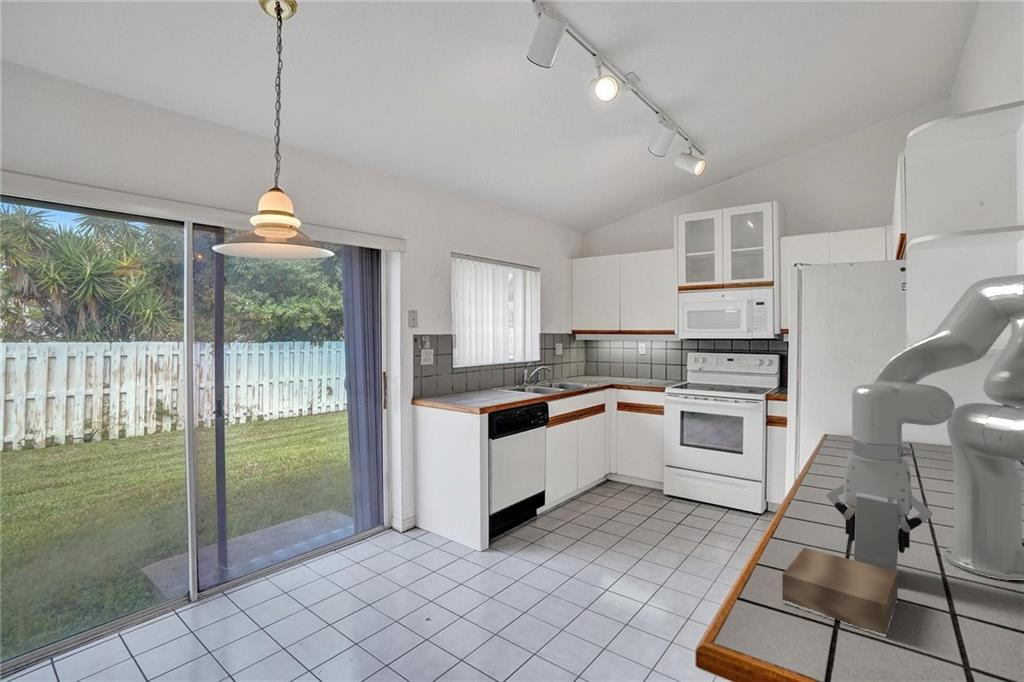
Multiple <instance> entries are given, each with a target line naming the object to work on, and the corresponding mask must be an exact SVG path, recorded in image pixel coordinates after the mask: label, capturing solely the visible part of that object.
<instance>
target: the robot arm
mask: <svg viewBox="0 0 1024 682" xmlns="http://www.w3.org/2000/svg"><path fill="white" fill-rule="evenodd" d="M1009 324H1010V327H1011V335H1010V337H1009V339H1008V341H1007V343H1006V345H1005V347H1004V348H1003V349H1002V351H1001V352H1000V354H999V356H998V357H997V359H996V360H995V362H994V364H993V366H992V367H991V369H990V370H989V372H988V374H987V375H986V377H985V380H984V382H983V388H982V389H983V391H984V394H985V395H986V397H987V398H988V399H990V400H991V401H993V402H996V403H998V404H996V403H995V404H994V403H987V402H986V403H985V402H971V403H964V404H961V405H958V406H957V407H956V406H955V405H956V404H955V402H954V398H953V397H952V396H951V395H950V394H949V393H948V392H947V391H945V389H942V388H940V387H937V386H934V385H929V384H923V383H918V382H921V380H923V379H924V378H926V377H929V376H931V375H933V374H936V373H939V372H942V371H946V370H949V369H954V368H959V367H962V366H964V365H968V364H971V363H975V362H978V361H979V360H981V359H983V358H984V357H985V356H986V355H987V353H988V352H989V350H990V349H991V348H992V347H993V346H994V345H995V343H996V341H997V340H999V337H1000V336H1001V335H1002V334H1003V332H1004V331H1005V329H1006V328H1007V327H1008V326H1009ZM851 394H852V395H851V401H852V402H851V403H852V405H851V407H852V408H851V409H852V410H851V411H852V413H851V415H852V418H851V419H852V420H851V421H852V423H851V424H852V426H851V428H852V429H851V430H852V433H851V434H852V439H851V440H852V442H851V443H852V450H851V451H852V452H850V453H848V456H847V458H846V459H847V460H846V462H845V463H846V464H845V472H844V483H843V484H842V485H840V486H838V487H836V488H834V489H832V490H830V491H829V492H828V493H826V497H827V499H828V500H829V501H830V503H832V505H834V508H835V509H836V510H837V511H838V512H839V513H840V514H841V515H842V516H843V518H844V519H845V534H846V535H848V540H849V541H850V542H855V517H856V514H855V513H856V493H864V494H869V495H874V496H878V497H883V498H888V499H893V500H897V501H898V508H899V534H898V552H899V553H902V554H904V553H905V550H906V549H910V545H911V544H910V541H911V539H910V538H911V537H910V536H911V533H910V532H911V531H912V530H914V529H915V528H917V527H919V526H921V525H922V524H923V523H925V522H926V521H928V520H929V519H930V518H932V516H933V511H932V510H931V509H929V507H927V506H926V505H925V504H923V503H922V502H921V501H919V499H917V498H915V496H914V495H913V491H912V480H911V472H910V467H909V463H908V460H906V459H904V457H907V456H909V457H912V456H913V449H912V448H909V447H907V446H905V445H903V427H902V426H903V424H909V425H918V426H928V427H929V426H937V425H940V424H944V423H945V422H946V421H947V423H946V427H947V428H946V429H947V430H946V431H947V434H948V439H949V442H950V443H949V444H950V446H951V451H952V457H953V459H952V460H953V546H950V547H947V548H945V549H944V550H943V557H944V560H946V561H947V562H948V561H949V563H950V564H951V563H952V565H953V564H954V566H955V565H956V566H955V567H957V566H958V567H957V568H959V567H960V569H961V568H963V569H966V570H970V571H973V572H977V573H980V574H984V575H988V576H995V577H999V578H1004V579H1024V545H1023V479H1022V475H1021V472H1020V471H1019V468H1018V466H1017V465H1016V463H1015V462H1014V461H1019V462H1024V273H1021V274H1014V275H1004V276H996V277H989V278H984V279H980V280H978V281H976V282H974V283H973V284H971V285H970V286H969V287H968V288H967V289H966V290H965V292H964V293H962V295H961V296H960V298H959V299H958V301H957V302H956V303H955V304H954V306H953V307H952V309H951V310H950V311H949V312H948V314H947V315H946V316H945V318H943V320H942V321H941V322H940V324H939V325H938V326H937V328H936V329H935V330H934V331H933V332H932V334H930V335H929V336H927V337H925V338H923V339H921V340H920V341H917V342H916V343H914V344H912V345H911V346H910V347H908V348H906V349H904V350H903V351H901V352H899V353H898V354H896V355H895V356H893V357H892V358H890V359H889V360H888V361H887V362H886V363H885V364H884V365H883V366H882V368H881V369H880V370H879V371H878V372H877V374H876V375H875V376H874V378H873V379H872V380H871V382H870V384H861V385H856V386H855V387H854V388H853V390H852V393H851ZM842 495H843V501H844V502H842V501H841V500H840V498H839V496H842ZM844 503H845V504H844ZM847 506H848V507H847ZM912 508H914V509H915V510H916V511H917V512H918V514H917V515H915V516H913V517H912V518H909V514H910V511H911V510H912ZM963 569H962V570H963ZM966 570H965V571H966Z"/></svg>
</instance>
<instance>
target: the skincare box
mask: <svg viewBox="0 0 1024 682" xmlns="http://www.w3.org/2000/svg"><path fill="white" fill-rule="evenodd" d="M899 529H900V524H899V508H898V501H897V500H893V499H888V498H883V497H878V496H874V495H869V494H864V493H856V511H855V540H854V547H853V560H854V561H858V562H862V563H866V564H869V565H873V566H877V567H881V568H885V569H889V570H893V571H897V567H898V554H899V553H898V552H899V550H898V534H899Z"/></svg>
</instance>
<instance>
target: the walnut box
mask: <svg viewBox="0 0 1024 682" xmlns="http://www.w3.org/2000/svg"><path fill="white" fill-rule="evenodd" d="M781 580H782V582H781V583H782V601H783V600H785V601H789V602H792V603H794V604H797V605H799V606H802V607H806V608H808V609H812V610H814V611H817V612H820V613H822V614H824V615H826V616H828V617H832V618H834V619H837V620H841V621H843V622H846V623H848V624H852V625H854V626H857V627H859V628H863V629H868V630H871V631H875V632H878V633H882V634H886V631H887V629H888V625H889V622H890V620H891V616H892V614H893V615H894V613H893V611H894V612H895V610H894V608H895V609H896V607H895V605H896V606H897V604H896V601H897V598H898V590H899V589H898V585H899V584H898V583H899V582H898V571H897V570H896V571H893V570H889V569H885V568H881V567H877V566H873V565H869V564H866V563H862V562H858V561H854V559H850V558H845V557H842V556H838V555H834V554H831V553H826V552H823V551H818V550H815V549H811V548H807V547H804V548H803V549H802V550H801V551H800V552H799V553H798V555H797V556H796V557H795V558H794V559H793V560H792V562H791V563H790V564H789V565H788V567H786V569H785V570H784V572H782V579H781ZM898 599H899V598H898ZM897 602H898V601H897ZM891 621H892V620H891ZM888 630H889V629H888Z"/></svg>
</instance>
